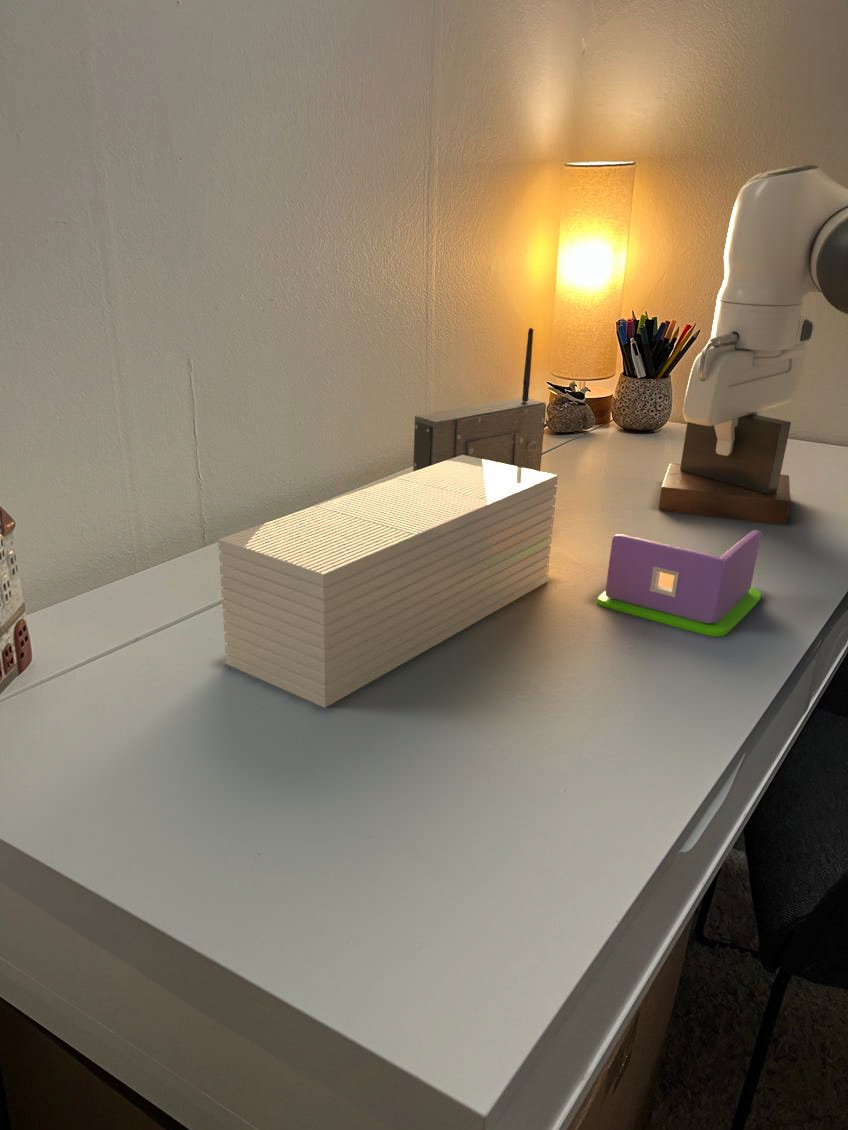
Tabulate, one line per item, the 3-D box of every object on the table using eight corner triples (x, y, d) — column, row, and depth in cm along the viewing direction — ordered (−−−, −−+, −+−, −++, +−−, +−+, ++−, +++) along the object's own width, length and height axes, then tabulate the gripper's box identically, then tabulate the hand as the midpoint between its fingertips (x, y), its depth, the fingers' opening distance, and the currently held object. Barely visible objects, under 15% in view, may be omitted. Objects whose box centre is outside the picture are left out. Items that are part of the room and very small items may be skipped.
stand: (784, 498, 118) (789, 475, 116) (785, 526, 108) (790, 500, 107) (666, 485, 122) (670, 462, 121) (657, 511, 113) (661, 486, 111)
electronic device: (514, 488, 120) (527, 323, 112) (554, 502, 116) (571, 330, 107) (408, 514, 111) (413, 336, 102) (447, 530, 106) (456, 344, 97)
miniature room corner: (721, 641, 81) (736, 566, 78) (591, 605, 88) (600, 535, 85) (764, 597, 90) (779, 528, 87) (643, 567, 96) (653, 502, 93)
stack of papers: (324, 710, 70) (323, 574, 66) (226, 666, 77) (218, 539, 72) (547, 583, 93) (557, 475, 88) (456, 557, 99) (462, 454, 94)
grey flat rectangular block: (777, 491, 110) (791, 419, 106) (767, 494, 109) (781, 422, 105) (689, 467, 119) (700, 400, 115) (679, 470, 118) (690, 402, 114)
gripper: (734, 341, 98) (711, 473, 104) (822, 323, 110) (798, 442, 116) (679, 334, 102) (660, 461, 108) (770, 317, 114) (749, 432, 120)
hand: (732, 451), depth 112 cm, fingers closed on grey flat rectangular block, 2 cm apart
